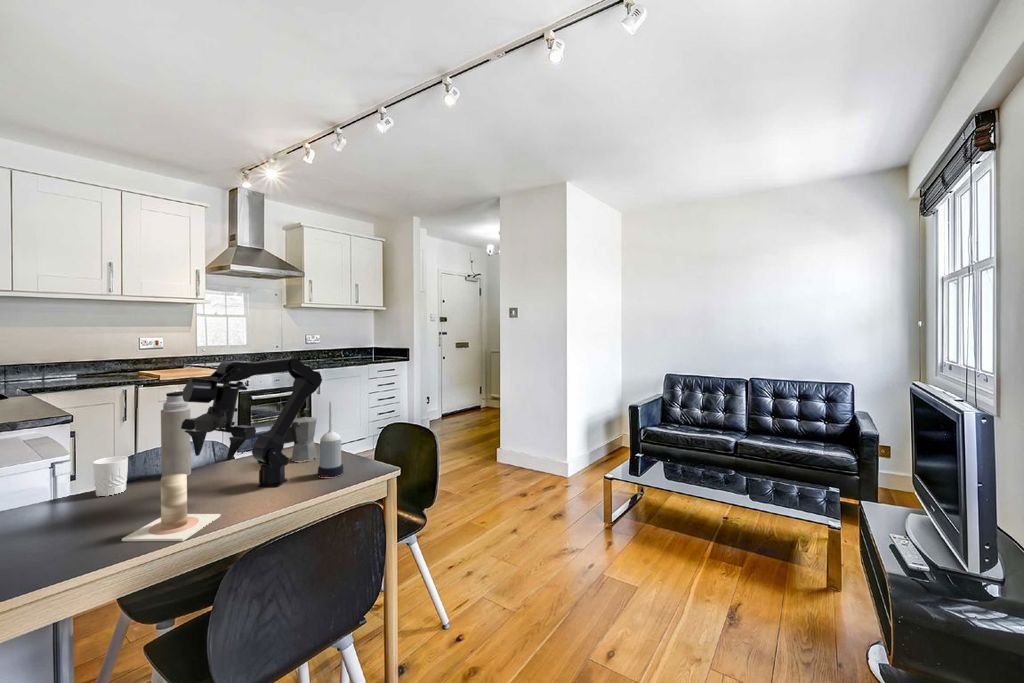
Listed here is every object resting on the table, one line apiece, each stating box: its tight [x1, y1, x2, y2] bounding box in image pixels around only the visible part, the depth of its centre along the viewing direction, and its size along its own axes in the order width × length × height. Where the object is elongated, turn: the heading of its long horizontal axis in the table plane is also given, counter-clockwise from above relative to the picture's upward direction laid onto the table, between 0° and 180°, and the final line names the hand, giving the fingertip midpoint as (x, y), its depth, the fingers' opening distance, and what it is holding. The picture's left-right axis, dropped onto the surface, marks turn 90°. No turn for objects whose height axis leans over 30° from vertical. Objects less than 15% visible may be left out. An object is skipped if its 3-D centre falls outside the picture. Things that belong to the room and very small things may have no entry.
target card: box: [121, 513, 221, 542], centre depth 112 cm, size 14×14×1 cm
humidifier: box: [317, 401, 344, 477], centre depth 153 cm, size 8×8×25 cm
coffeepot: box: [290, 411, 317, 461], centre depth 170 cm, size 15×9×18 cm, turn 179°
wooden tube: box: [160, 474, 188, 530], centre depth 112 cm, size 5×5×12 cm
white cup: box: [92, 455, 129, 497], centre depth 135 cm, size 8×8×10 cm
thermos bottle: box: [160, 391, 192, 478], centre depth 151 cm, size 8×8×28 cm
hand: (213, 457), depth 130 cm, fingers open, 9 cm apart
